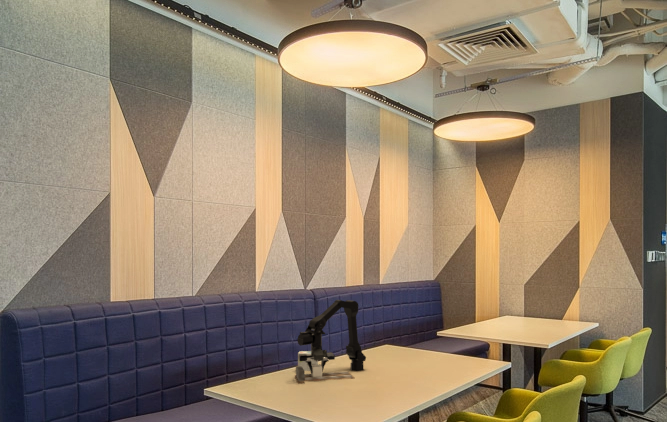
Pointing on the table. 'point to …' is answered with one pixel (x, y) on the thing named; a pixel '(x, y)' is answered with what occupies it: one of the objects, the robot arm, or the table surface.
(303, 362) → the light bulb box
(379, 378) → the table surface
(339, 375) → the track board
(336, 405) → the table surface
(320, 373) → the cream white cube
